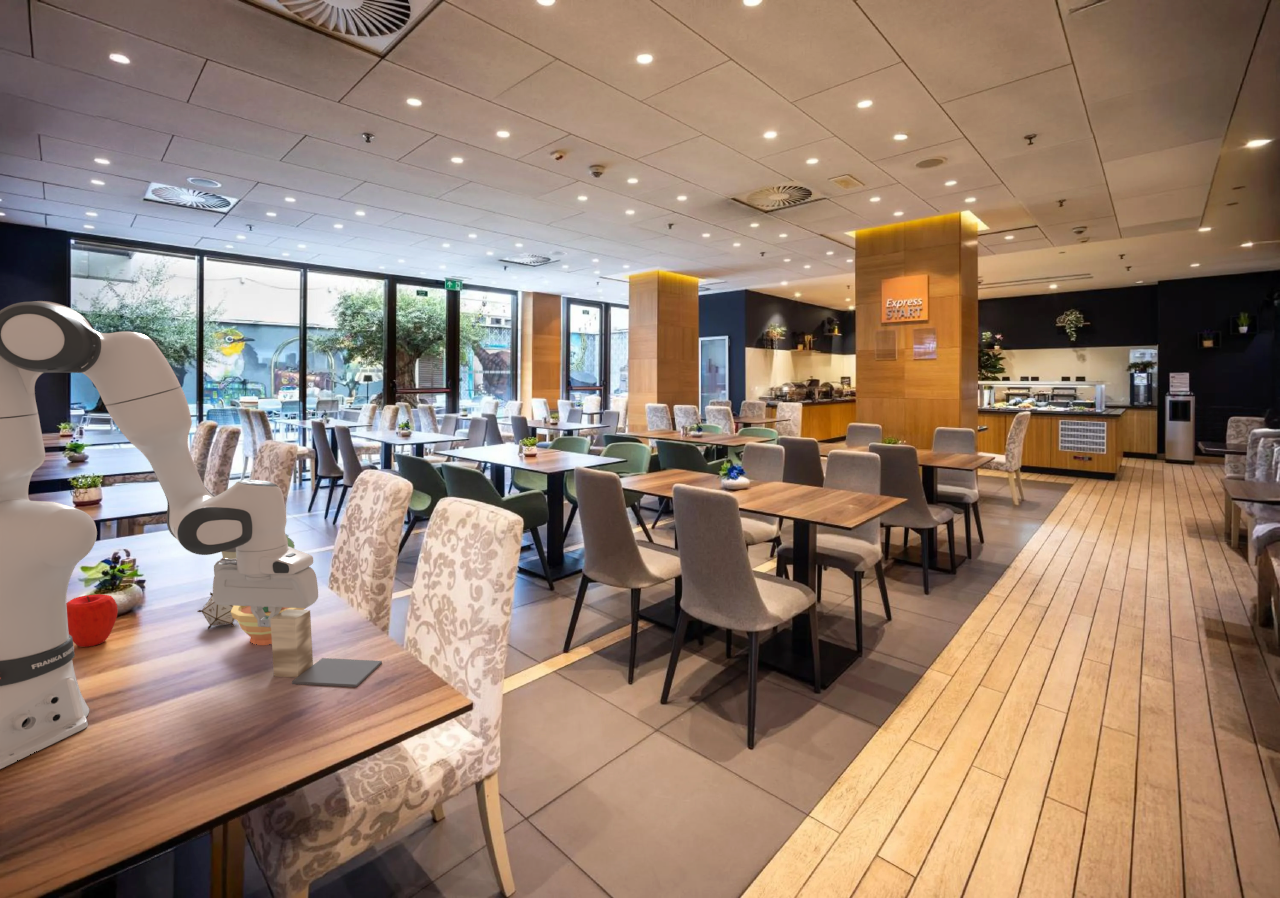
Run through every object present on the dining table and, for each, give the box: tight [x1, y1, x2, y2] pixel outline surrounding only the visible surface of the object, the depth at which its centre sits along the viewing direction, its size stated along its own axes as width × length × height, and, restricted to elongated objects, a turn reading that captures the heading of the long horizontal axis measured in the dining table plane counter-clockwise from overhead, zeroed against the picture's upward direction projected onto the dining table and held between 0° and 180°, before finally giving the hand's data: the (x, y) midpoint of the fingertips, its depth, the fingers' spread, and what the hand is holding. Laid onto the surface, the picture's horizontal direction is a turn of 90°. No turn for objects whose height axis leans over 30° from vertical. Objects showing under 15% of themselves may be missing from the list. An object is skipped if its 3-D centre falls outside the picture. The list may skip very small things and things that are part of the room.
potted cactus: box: [231, 533, 307, 646], centre depth 138 cm, size 15×15×25 cm
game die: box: [197, 592, 236, 630], centre depth 145 cm, size 9×8×10 cm
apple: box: [66, 593, 119, 648], centre depth 135 cm, size 9×9×11 cm
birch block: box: [271, 609, 314, 679], centre depth 123 cm, size 5×5×12 cm
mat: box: [291, 657, 383, 688], centre depth 123 cm, size 10×13×1 cm
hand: (267, 626), depth 123 cm, fingers closed
